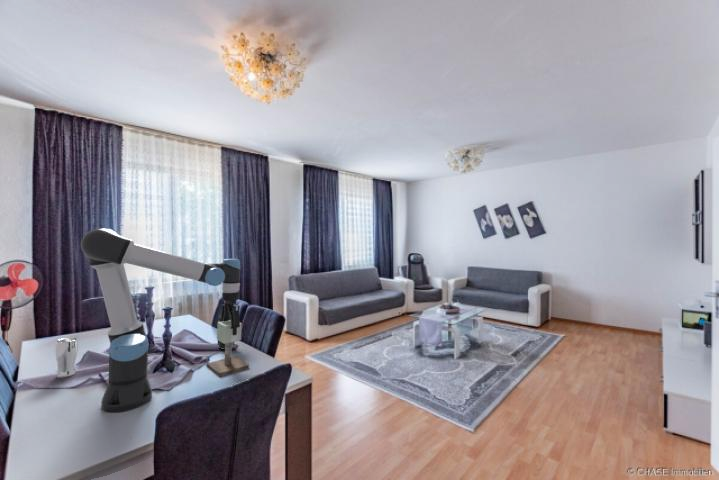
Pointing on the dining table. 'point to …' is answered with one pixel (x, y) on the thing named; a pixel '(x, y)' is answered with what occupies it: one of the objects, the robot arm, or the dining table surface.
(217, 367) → the post board
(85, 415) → the dining table surface
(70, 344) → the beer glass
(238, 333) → the collar
